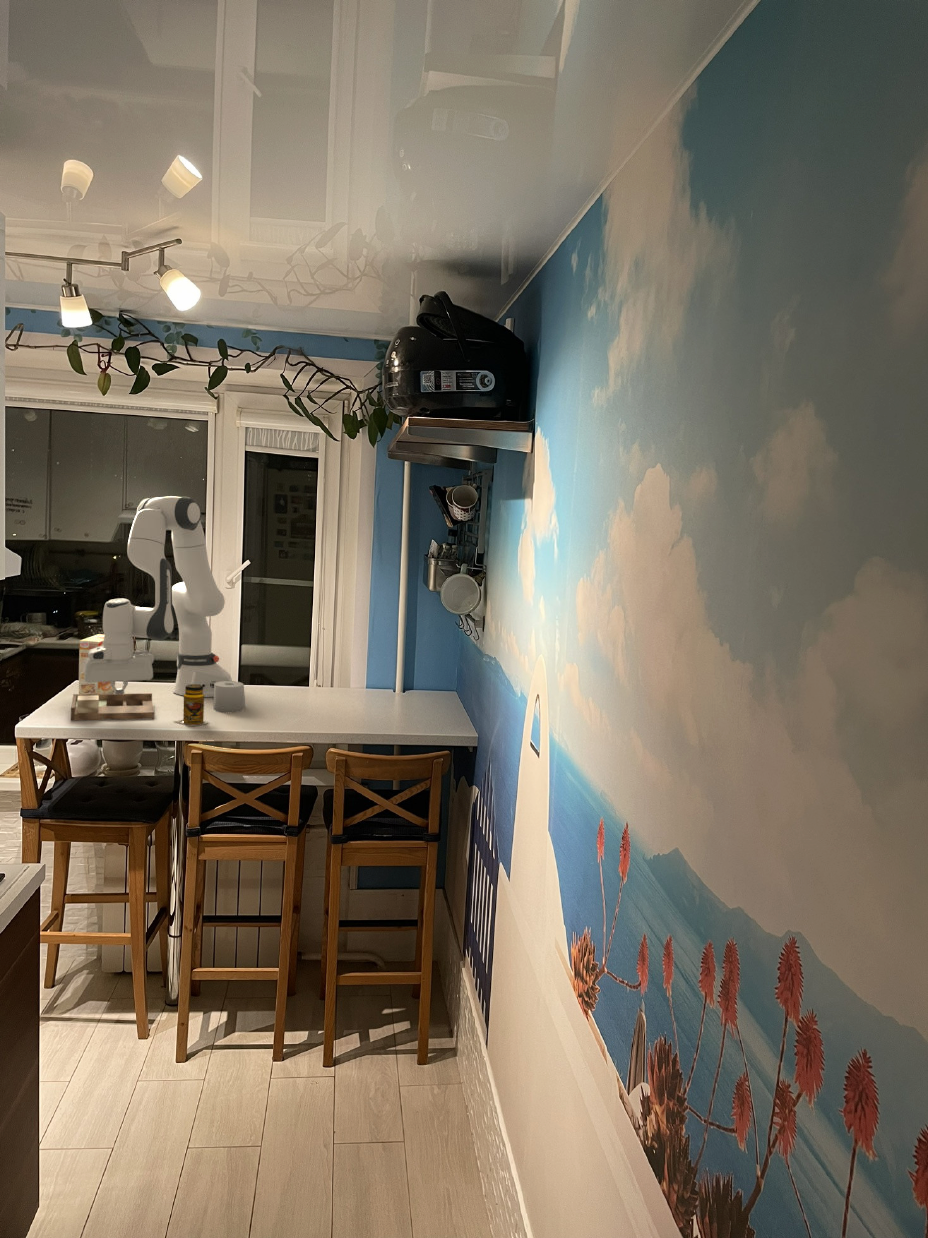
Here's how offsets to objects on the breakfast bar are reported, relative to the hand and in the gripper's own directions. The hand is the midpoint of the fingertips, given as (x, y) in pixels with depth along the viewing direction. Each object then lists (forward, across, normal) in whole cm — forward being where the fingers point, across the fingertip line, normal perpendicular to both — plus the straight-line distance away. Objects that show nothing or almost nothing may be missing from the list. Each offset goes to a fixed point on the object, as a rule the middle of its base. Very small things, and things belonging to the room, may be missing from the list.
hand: (119, 694), depth 286 cm
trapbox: (+7, +2, -4) cm, 8 cm away
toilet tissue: (+8, -35, -5) cm, 36 cm away
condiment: (+8, -21, +11) cm, 25 cm away
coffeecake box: (+7, +6, -31) cm, 33 cm away
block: (+4, +9, 0) cm, 10 cm away
